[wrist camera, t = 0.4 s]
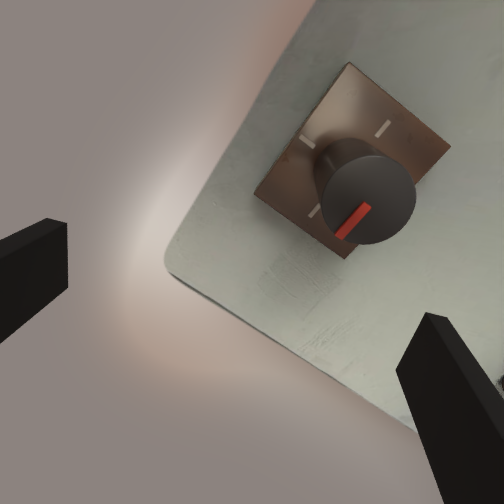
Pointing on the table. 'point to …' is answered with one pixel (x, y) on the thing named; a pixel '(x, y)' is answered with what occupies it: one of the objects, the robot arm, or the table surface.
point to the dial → (363, 192)
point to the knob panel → (339, 127)
